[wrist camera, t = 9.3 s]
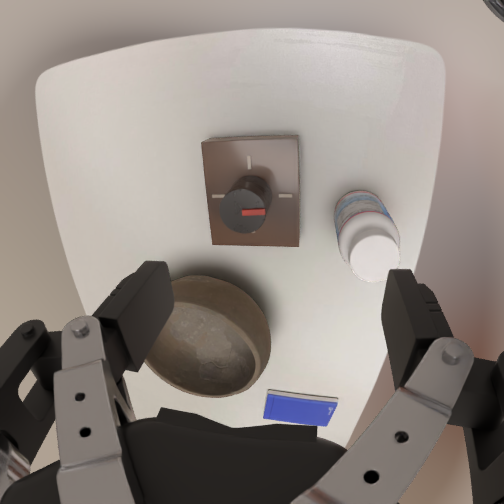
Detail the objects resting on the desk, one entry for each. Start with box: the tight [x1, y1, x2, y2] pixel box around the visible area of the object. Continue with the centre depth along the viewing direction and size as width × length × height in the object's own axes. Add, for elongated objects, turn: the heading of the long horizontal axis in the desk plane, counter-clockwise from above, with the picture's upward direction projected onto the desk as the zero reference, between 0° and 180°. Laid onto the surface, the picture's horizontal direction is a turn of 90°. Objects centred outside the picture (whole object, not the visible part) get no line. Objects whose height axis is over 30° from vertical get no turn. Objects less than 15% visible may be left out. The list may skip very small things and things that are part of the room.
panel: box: [201, 135, 300, 247], centre depth 35 cm, size 12×10×3 cm
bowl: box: [144, 275, 271, 398], centre depth 42 cm, size 17×18×10 cm
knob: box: [219, 176, 272, 234], centre depth 32 cm, size 4×4×5 cm
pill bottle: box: [334, 191, 400, 282], centre depth 31 cm, size 6×6×11 cm
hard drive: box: [263, 390, 338, 426], centre depth 53 cm, size 2×8×12 cm
